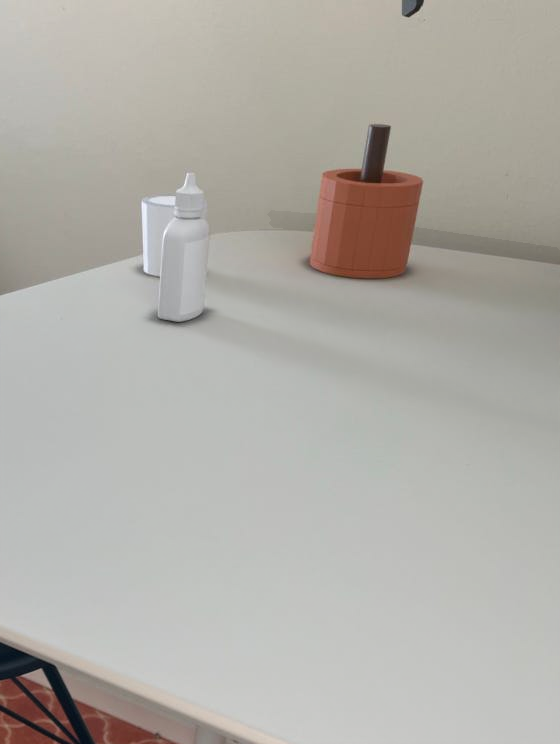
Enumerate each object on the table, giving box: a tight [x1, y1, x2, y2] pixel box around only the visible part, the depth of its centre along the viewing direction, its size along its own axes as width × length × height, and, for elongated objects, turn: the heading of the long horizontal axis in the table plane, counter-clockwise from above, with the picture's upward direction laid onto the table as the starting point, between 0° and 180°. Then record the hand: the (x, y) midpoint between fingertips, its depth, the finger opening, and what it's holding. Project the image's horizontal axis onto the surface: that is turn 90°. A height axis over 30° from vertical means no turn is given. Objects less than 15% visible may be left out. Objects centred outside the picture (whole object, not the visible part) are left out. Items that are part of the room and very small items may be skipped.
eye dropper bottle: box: [157, 172, 211, 323], centre depth 89 cm, size 4×6×12 cm
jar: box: [309, 168, 424, 280], centre depth 106 cm, size 10×10×9 cm
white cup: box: [141, 194, 208, 278], centre depth 103 cm, size 7×7×7 cm
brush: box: [360, 123, 392, 183], centre depth 104 cm, size 5×5×13 cm
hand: (380, 4), depth 103 cm, fingers open, 8 cm apart
